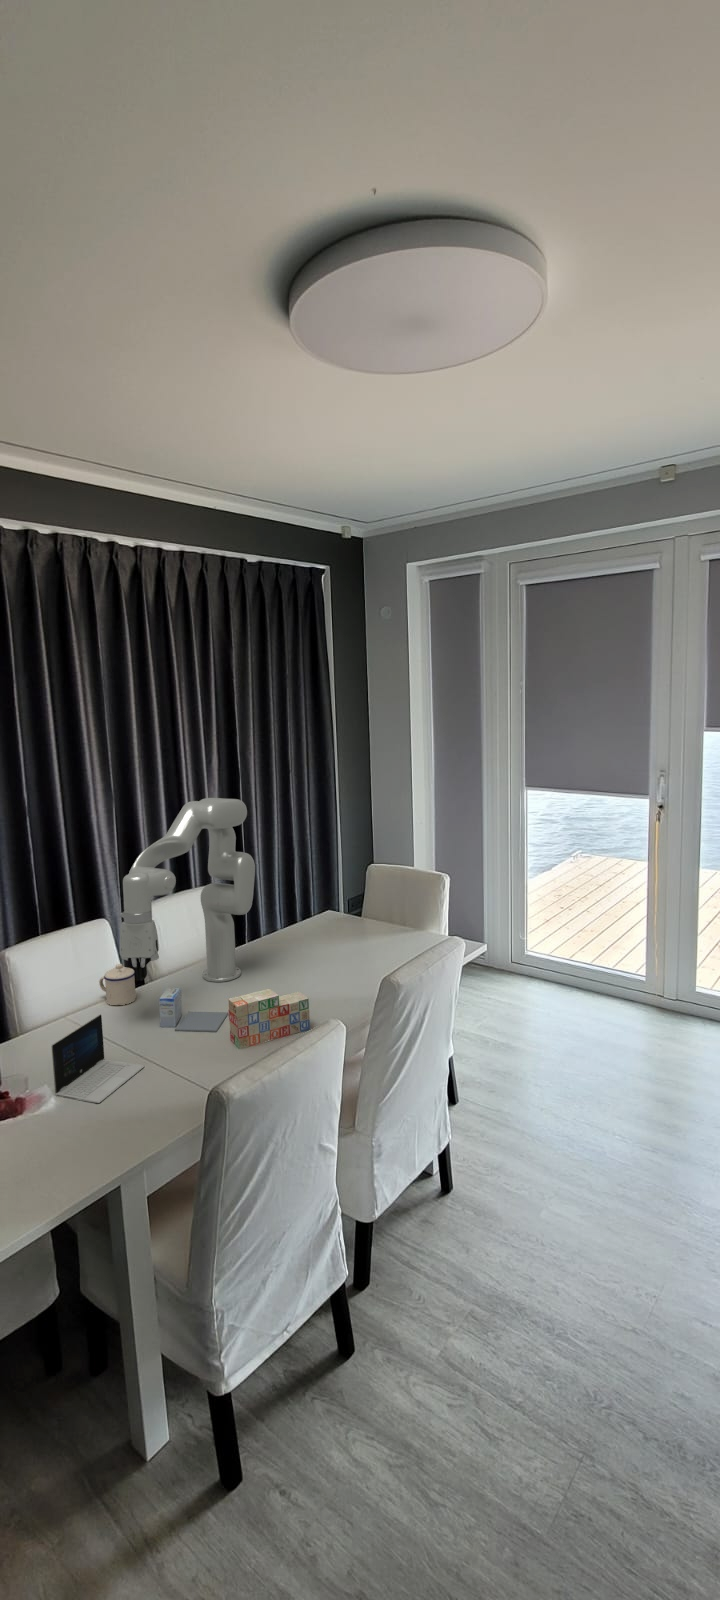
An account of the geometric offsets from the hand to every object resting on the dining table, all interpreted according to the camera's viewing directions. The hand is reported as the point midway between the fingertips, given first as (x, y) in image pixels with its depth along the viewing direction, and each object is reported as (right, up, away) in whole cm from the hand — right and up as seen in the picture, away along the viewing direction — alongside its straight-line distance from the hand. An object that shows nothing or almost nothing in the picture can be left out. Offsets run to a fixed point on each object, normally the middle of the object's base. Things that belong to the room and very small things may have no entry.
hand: (141, 979), depth 213 cm
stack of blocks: (+38, -14, -8) cm, 41 cm away
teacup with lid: (-13, -11, +18) cm, 24 cm away
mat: (+17, -13, +1) cm, 21 cm away
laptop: (-1, -18, -31) cm, 36 cm away
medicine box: (+8, -13, +2) cm, 15 cm away
